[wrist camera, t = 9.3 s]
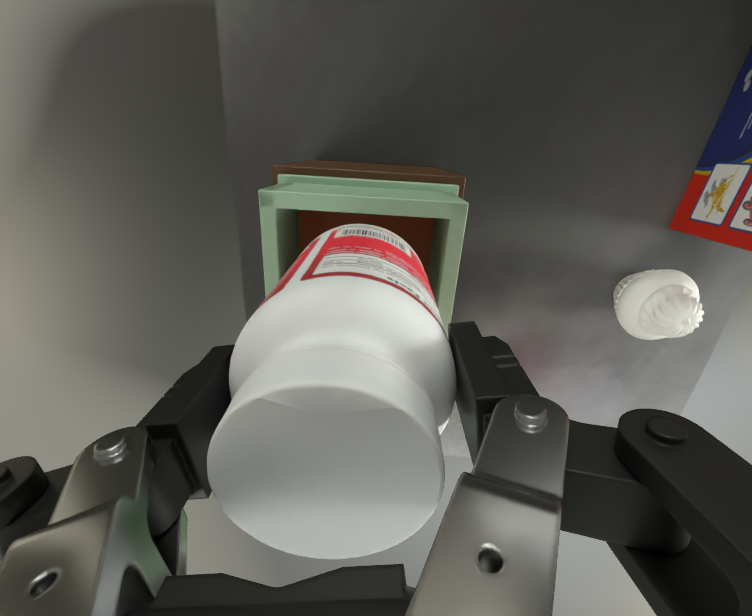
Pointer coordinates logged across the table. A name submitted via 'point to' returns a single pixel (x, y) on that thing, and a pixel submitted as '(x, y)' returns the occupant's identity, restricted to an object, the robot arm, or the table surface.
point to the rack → (366, 215)
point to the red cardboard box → (724, 175)
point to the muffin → (658, 304)
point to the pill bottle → (338, 402)
